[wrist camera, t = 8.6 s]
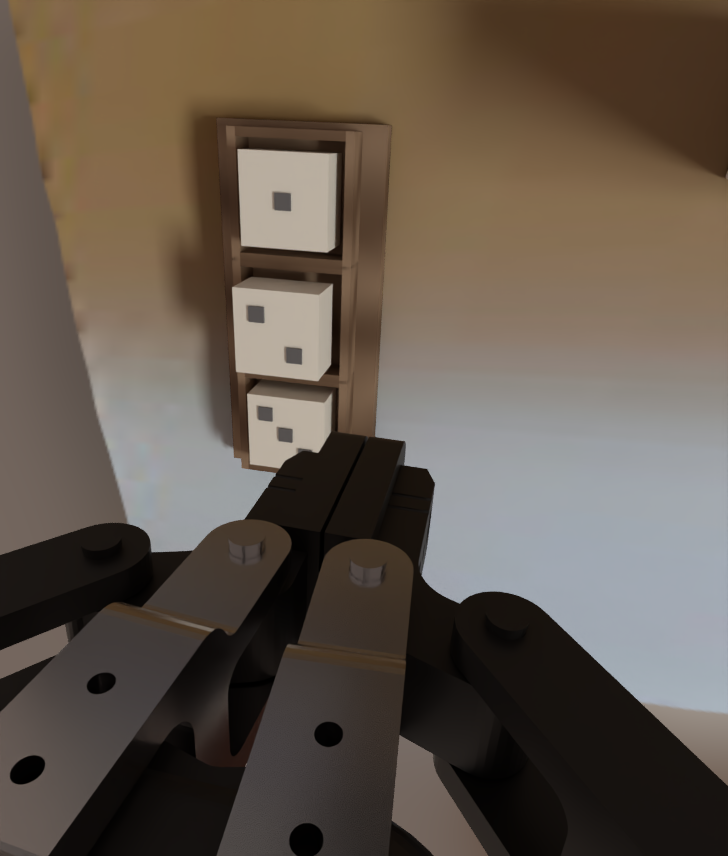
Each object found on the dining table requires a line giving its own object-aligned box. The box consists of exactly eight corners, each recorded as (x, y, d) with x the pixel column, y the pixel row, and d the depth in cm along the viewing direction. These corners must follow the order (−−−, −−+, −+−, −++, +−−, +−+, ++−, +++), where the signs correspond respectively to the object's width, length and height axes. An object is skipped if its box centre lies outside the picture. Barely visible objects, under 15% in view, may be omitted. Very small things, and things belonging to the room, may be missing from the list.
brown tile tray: (224, 118, 37) (201, 116, 34) (391, 125, 35) (381, 124, 33) (240, 450, 46) (223, 470, 44) (373, 468, 45) (364, 490, 42)
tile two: (251, 276, 38) (230, 287, 35) (332, 283, 37) (318, 295, 34) (254, 356, 40) (235, 372, 37) (331, 364, 39) (317, 382, 36)
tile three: (263, 377, 42) (246, 394, 39) (336, 385, 41) (324, 403, 38) (265, 444, 44) (249, 465, 41) (334, 453, 43) (322, 475, 40)
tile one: (257, 148, 36) (236, 149, 33) (342, 152, 35) (328, 153, 32) (259, 238, 38) (240, 246, 35) (339, 244, 37) (326, 252, 34)
